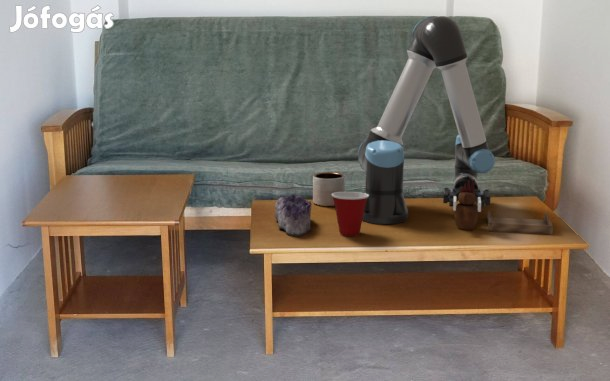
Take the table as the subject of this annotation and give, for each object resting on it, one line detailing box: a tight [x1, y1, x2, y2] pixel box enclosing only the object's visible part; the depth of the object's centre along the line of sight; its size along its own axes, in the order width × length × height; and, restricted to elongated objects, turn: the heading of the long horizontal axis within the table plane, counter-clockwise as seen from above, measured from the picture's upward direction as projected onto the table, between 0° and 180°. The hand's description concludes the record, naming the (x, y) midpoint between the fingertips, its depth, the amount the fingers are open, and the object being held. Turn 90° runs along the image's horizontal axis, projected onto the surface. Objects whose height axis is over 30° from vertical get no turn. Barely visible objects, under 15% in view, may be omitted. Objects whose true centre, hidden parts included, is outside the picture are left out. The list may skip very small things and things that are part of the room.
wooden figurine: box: [453, 179, 479, 231], centre depth 204 cm, size 7×6×15 cm
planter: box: [312, 171, 346, 207], centre depth 235 cm, size 11×11×10 cm
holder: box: [486, 210, 554, 235], centre depth 208 cm, size 18×13×2 cm
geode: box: [274, 194, 312, 237], centre depth 209 cm, size 20×12×10 cm, turn 9°
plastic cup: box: [332, 191, 369, 237], centre depth 201 cm, size 11×11×12 cm
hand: (467, 206), depth 200 cm, fingers closed on wooden figurine, 6 cm apart
